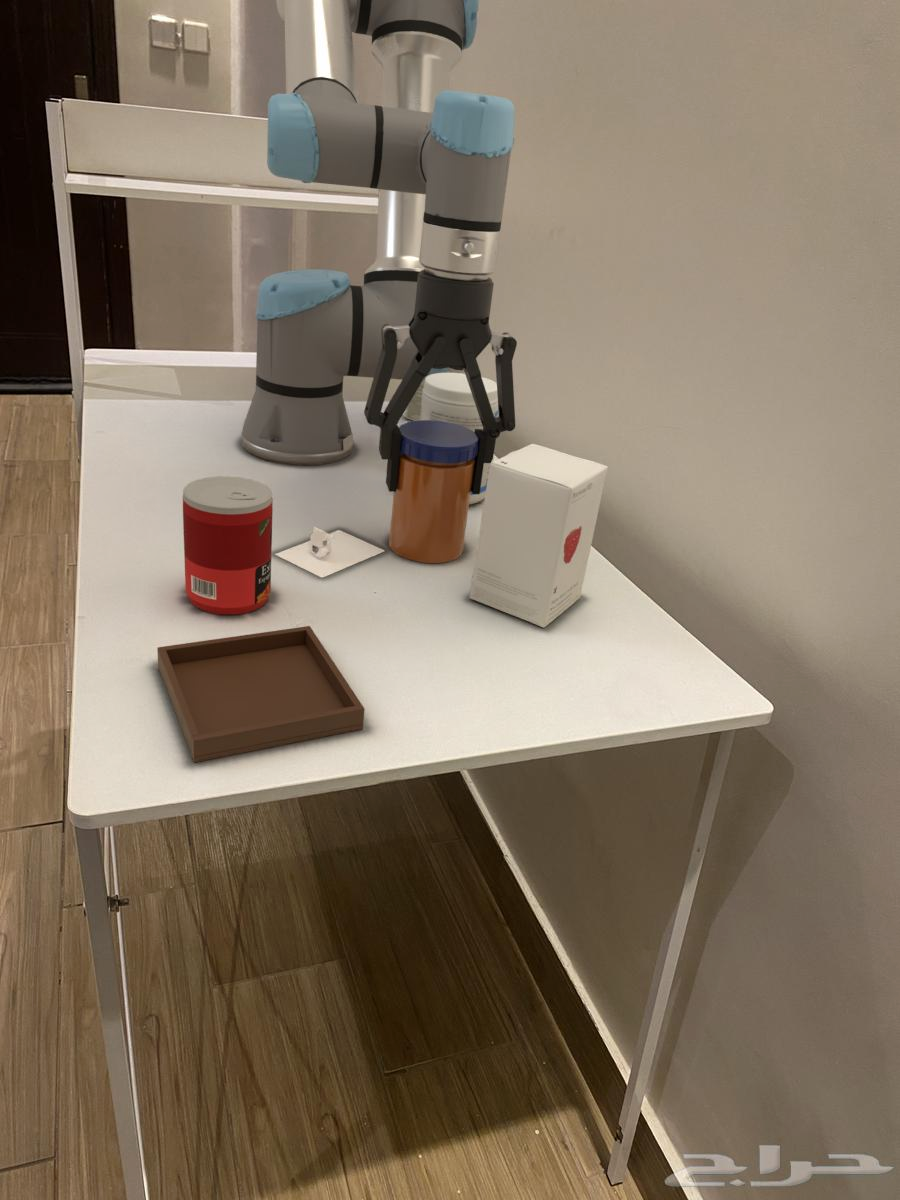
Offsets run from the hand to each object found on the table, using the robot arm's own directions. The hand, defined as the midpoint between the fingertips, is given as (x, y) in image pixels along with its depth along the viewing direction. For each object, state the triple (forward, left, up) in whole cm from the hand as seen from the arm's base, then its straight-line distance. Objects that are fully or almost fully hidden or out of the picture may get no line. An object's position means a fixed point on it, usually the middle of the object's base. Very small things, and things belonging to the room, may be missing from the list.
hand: (432, 488), depth 100 cm
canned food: (+6, -24, -7) cm, 26 cm away
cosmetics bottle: (-43, +20, -7) cm, 48 cm away
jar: (0, 0, -7) cm, 7 cm away
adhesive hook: (-1, -11, -7) cm, 13 cm away
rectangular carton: (+14, +5, -7) cm, 17 cm away
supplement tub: (-14, +10, -7) cm, 19 cm away
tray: (+23, -26, -7) cm, 35 cm away
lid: (0, 0, +6) cm, 6 cm away
